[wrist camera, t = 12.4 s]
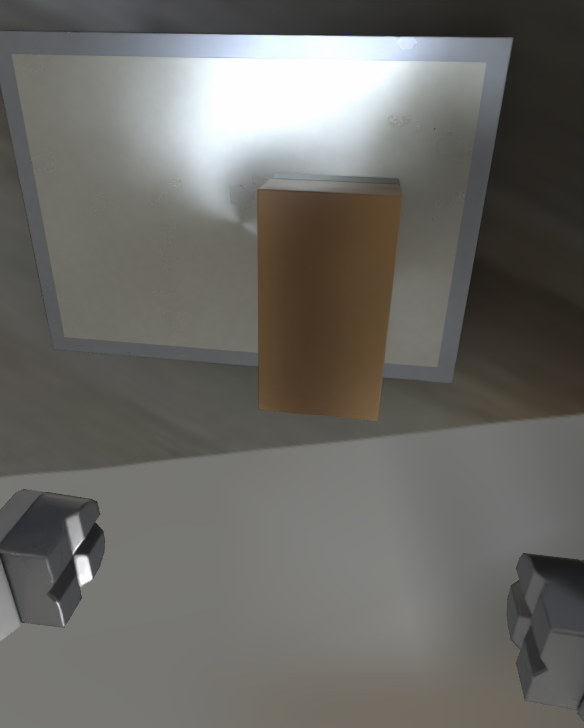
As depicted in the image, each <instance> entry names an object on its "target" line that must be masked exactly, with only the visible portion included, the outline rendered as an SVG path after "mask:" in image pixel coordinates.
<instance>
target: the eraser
mask: <svg viewBox="0 0 584 728" xmlns="http://www.w3.org/2000/svg"><path fill="white" fill-rule="evenodd" d="M402 202H403V195H402V191H401V187H400V182H399V179H398V178H376V177H353V176H331V175H309V174H286V173H276V174H275V175H274V176H273V177H271V178H270V179H269V180H268V181H267V182H266V183H264V184H263V185H262V186H261V187H260V188H259V189H258V190H257V238H258V405H259V410H269V411H279V412H290V413H300V414H311V415H321V416H332V417H342V418H353V419H363V420H374V421H377V420H378V414H379V405H380V396H381V387H382V379H383V370H384V361H385V352H386V343H387V334H388V326H389V317H390V308H391V299H392V290H393V282H394V273H395V264H396V255H397V246H398V238H399V229H400V220H401V211H402Z"/></svg>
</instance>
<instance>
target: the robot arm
mask: <svg viewBox="0 0 584 728" xmlns="http://www.w3.org/2000/svg"><path fill="white" fill-rule="evenodd" d="M99 515H100V512H99V507H98V503H97V501H95V500H93V499H88V498H82V497H75V496H69V495H62V494H56V493H49V492H46V493H45V492H39V491H33V490H26V489H23V490H21V491H18V492H16V493H15V494H14V495H13V496H12V497H11V498H10V499H9V501H8V502H7V503H6V504H5V505H4V506H3V507H2V508H1V509H0V641H1V640H3V639H4V638H5V637H7V636H8V635H9V634H11V633H12V632H13V631H15V630H16V629H17V628H19V627H20V626H21V622H22V623H30V624H37V625H45V626H53V627H61V628H65V626H66V624H67V622H68V621H69V619H70V617H71V616H72V614H73V612H74V611H75V609H76V607H77V606H78V604H79V602H80V600H81V599H82V596H81V590H80V587H81V586H83V585H84V584H86V583H87V582H89V581H90V580H92V579H93V578H94V576H95V575H96V573H97V571H98V569H99V567H100V565H101V561H102V558H103V555H104V549H105V538H104V532H103V530H102V529H101V528H100V527H99V526H98V525H97V524H96V523H95V521H96V520H97V518H98V517H99ZM516 569H517V573H518V577H519V580H518V581H517V582H515V583H514V584H512V585H511V588H510V591H509V595H508V599H507V600H508V601H507V622H508V629H509V633H510V639H511V640H512V641H513V643H514V644H515V645H516V646H517V647H518V648H519V649H520V653H519V656H518V659H517V662H516V665H517V669H518V673H519V678H520V682H521V686H522V691H523V694H524V699H525V701H529V702H535V703H540V704H545V705H550V706H556V707H561V708H567V709H572V710H577V711H578V715H579V716H580V717H581V718H582V720H583V721H584V560H578V559H569V558H561V557H552V556H544V555H535V554H526V553H523V554H522V555H521V557H520V558H519V561H518V564H517V567H516Z"/></svg>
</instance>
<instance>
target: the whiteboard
mask: <svg viewBox="0 0 584 728" xmlns="http://www.w3.org/2000/svg"><path fill="white" fill-rule="evenodd" d="M513 39H514V38H513V37H475V36H395V35H315V34H234V33H154V32H74V31H0V86H1V91H2V96H3V101H4V106H5V111H6V116H7V121H8V126H9V131H10V136H11V141H12V146H13V151H14V156H15V161H16V166H17V171H18V176H19V181H20V186H21V191H22V196H23V201H24V206H25V211H26V216H27V221H28V226H29V231H30V236H31V241H32V246H33V251H34V256H35V261H36V266H37V271H38V276H39V281H40V286H41V291H42V296H43V301H44V306H45V311H46V316H47V321H48V326H49V331H50V336H51V341H52V346H53V349H54V350H64V351H76V352H88V353H100V354H112V355H124V356H136V357H148V358H160V359H172V360H184V361H196V362H208V363H220V364H231V365H243V366H255V367H258V238H257V190H258V189H259V188H260V187H261V186H262V185H263V184H264V183H266V182H267V181H268V180H269V179H270V178H271V177H273V176H274V175H275V174H276V173H286V174H309V175H331V176H353V177H376V178H398V179H399V182H400V187H401V191H402V195H403V202H402V211H401V220H400V229H399V238H398V246H397V255H396V264H395V273H394V282H393V290H392V299H391V308H390V317H389V326H388V334H387V343H386V352H385V361H384V370H383V377H387V378H399V379H411V380H423V381H435V382H447V383H452V381H453V375H454V370H455V364H456V359H457V353H458V347H459V342H460V336H461V331H462V325H463V319H464V314H465V308H466V303H467V297H468V291H469V286H470V280H471V274H472V269H473V263H474V258H475V252H476V246H477V241H478V235H479V230H480V224H481V218H482V213H483V207H484V202H485V196H486V190H487V185H488V179H489V174H490V168H491V162H492V157H493V151H494V146H495V140H496V134H497V129H498V123H499V118H500V112H501V106H502V101H503V95H504V90H505V84H506V78H507V73H508V67H509V61H510V56H511V50H512V45H513Z"/></svg>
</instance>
